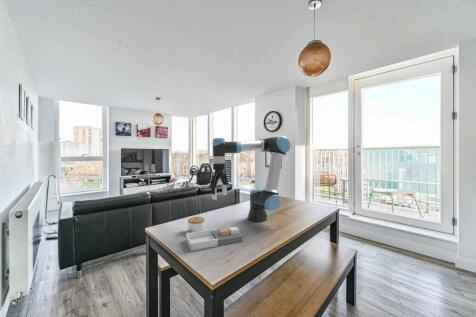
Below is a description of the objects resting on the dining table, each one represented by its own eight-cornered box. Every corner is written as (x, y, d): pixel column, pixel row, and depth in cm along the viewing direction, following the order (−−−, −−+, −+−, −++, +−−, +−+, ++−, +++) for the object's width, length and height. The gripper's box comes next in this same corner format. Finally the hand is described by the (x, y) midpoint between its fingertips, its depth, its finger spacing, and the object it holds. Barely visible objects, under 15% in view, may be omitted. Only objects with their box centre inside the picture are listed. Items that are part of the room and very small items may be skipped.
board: (233, 232, 130) (233, 227, 130) (242, 241, 117) (242, 236, 117) (211, 236, 124) (211, 231, 124) (218, 245, 111) (218, 240, 111)
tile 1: (226, 231, 123) (226, 227, 123) (229, 234, 118) (229, 230, 118) (219, 233, 121) (219, 229, 121) (221, 236, 116) (221, 232, 116)
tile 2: (235, 230, 125) (235, 226, 125) (239, 233, 121) (239, 229, 121) (228, 231, 123) (228, 227, 123) (231, 234, 119) (231, 230, 119)
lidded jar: (207, 229, 134) (207, 215, 134) (196, 235, 125) (196, 220, 125) (195, 226, 140) (195, 213, 139) (184, 232, 130) (184, 217, 130)
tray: (210, 235, 124) (210, 229, 124) (217, 246, 110) (217, 239, 110) (186, 239, 118) (186, 233, 118) (190, 251, 105) (190, 243, 104)
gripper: (222, 161, 137) (223, 192, 138) (202, 164, 114) (203, 201, 115) (232, 162, 134) (233, 193, 135) (214, 164, 111) (215, 202, 112)
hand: (219, 197), depth 125 cm, fingers open, 13 cm apart
